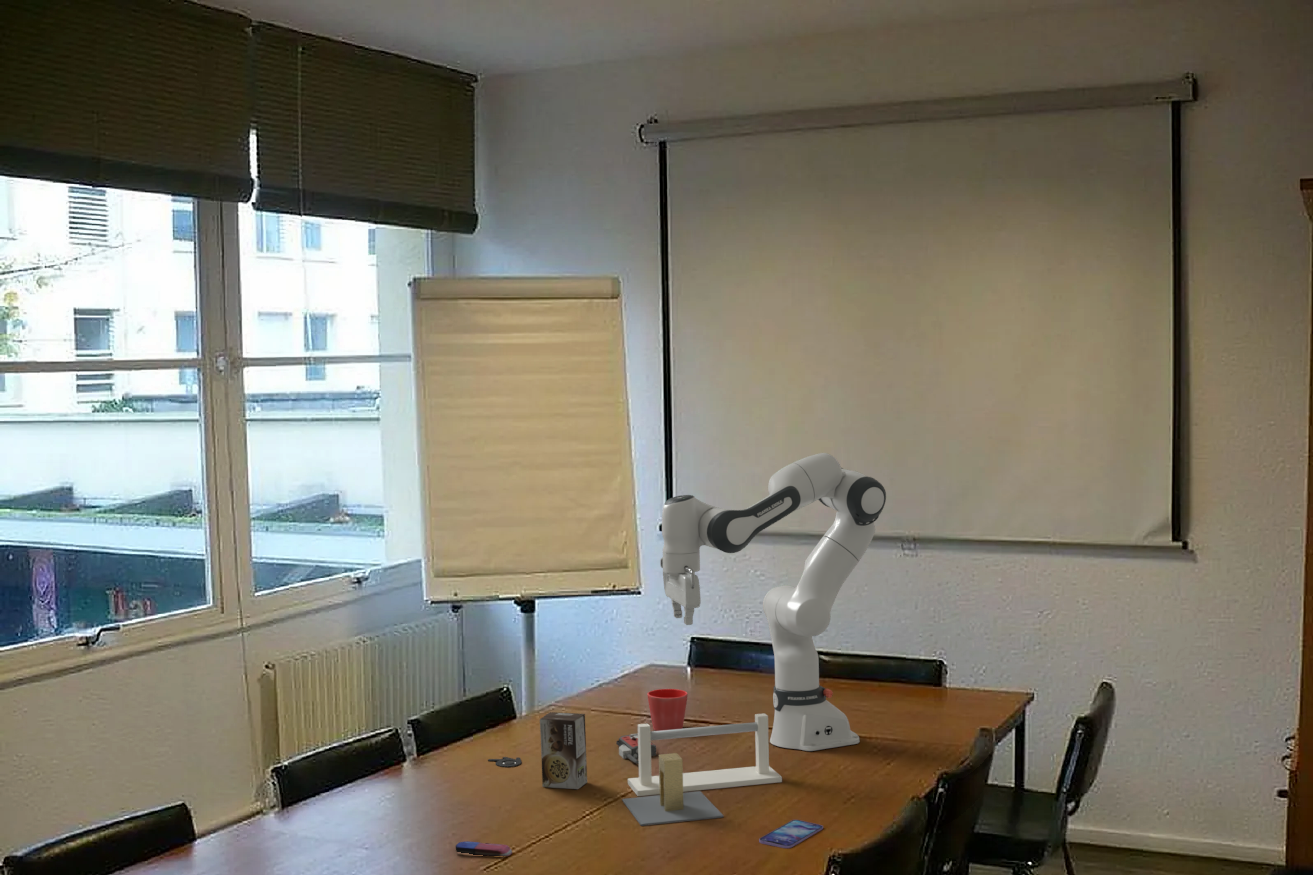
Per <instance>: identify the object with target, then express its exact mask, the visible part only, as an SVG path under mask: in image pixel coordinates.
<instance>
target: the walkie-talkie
mask: <svg viewBox="0 0 1313 875" xmlns="http://www.w3.org/2000/svg"><path fill="white" fill-rule="evenodd" d="M615 742H616V745H617V746H618V755H619V756H620V758H622V759H623V760H625V759H629V760H630V761H631V762H632V763H635V764H636V765H639V761H638V733H630V734H628V735H621V736H620V737H619V738H618V740H616V741H615ZM656 756H657V746H656V744H654V743H653V742H652V741H651V757H656Z"/></svg>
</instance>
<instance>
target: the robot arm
mask: <svg viewBox="0 0 1313 875" xmlns="http://www.w3.org/2000/svg"><path fill="white" fill-rule="evenodd" d="M767 485H768V486H767V488H768V489H767V490H768V495H766V497H764V498H762V499H760V500H758V501H757V502H755V503H754V504H751V505H750V506H748V507H747V508H743V509H738V510H737V509H736V510H735V509H725V508H722V507H721V508H720V507H716V506H713V505H710V504H708V503H706V502H703V501H701V500H700V499H697V498H696V497H695V496H694V495H691V494H683V495H677V496H674V497H670V498H669V499H667V500H666V501H665V502H664V504H663V507H662V515H661V535H662V538H663V548H662V557H661V558H660V560H659V563H660V568H661V569H662V576H663V578H662V579H663V587H664V593H665V596H666V597H667V598H669V599H671V605H672V610H673V617H674V618H675V619H682V618H683V623H684V625H686V626H692V625H693V624H694V619H693V618H694V614H695V609H696V608H697V609H698V608H700V606H701V601H702V600H701V598H702V597H701V588H700V587H701V586H700V585H701V584H700V578H699V576H698V575H696V573H697V572H699V571H701V558H700V548H701V547H702V546H705V547H709V548H713V549H717V550H719V551H721V552H723V553H727V554H735V553H739V552H740V551H742V550H744V549H745V548H746V547H747V546H748V545H749V544H750V543H751V541H752V540H753V539H754V538H755V536H757V535H758V534H759V533H761V532H762V531H764V530H765V529H767V528H768V527H771V526H772V525H774V524H775V523H777V522H779V521H780V520H782V519H784V518H786V517H788V516H789V515H790V514H792V513H793V512H795V511H798V510H800V509H802V508H805V507H807V506H809V505H810V504H812V503H815V502H817V501H819V502H820V503H821V504H822V505H824V506H826V507H827V508H831V509H832V510H834V511H836V513H835V519H834V522H833V523H832V525H831V526H830V527H829V528H828V529H827V531H826V532H825V533H824V534H823V536H822V537H821V538H820V540H819V541H818V543H817V544H816V545H815V547H814V548H813V549H812V551H811V552H810V553H809V555H808V556H807V557H806V559H805V561H804V568H803V572H802V573H801V577H800V578H799V581H798V583H797V585H796V586H793V585H788V584H787V585H785V584H784V585H778V586H774V587H772V588H770V589H769V590H768V591H767V593H766V594H765V596H764V597H763V601H762V609H763V610H762V611H763V613H764V615H765V617H766V619H767V620H766V621H767V625H768V630H769V634H770V635H769V636H770V640H771V643H772V650H773V654H774V655H773V656H774V657H773V658H774V686H773V694H772V698H773V699H772V700H773V701H772V702H773V703H772V704H773V708H774V715H773V716H774V717H773V724H772V731H771V735H770V739H769V743H770V744H772V745H773V746H777V747H780V748H785V749H794V750H800V751H801V750H802V751H804V752H805V751H806V752H813V751H820V750H825V749H826V750H827V749H832V748H838V747H845V746H850V745H851V746H852V745H856V744H857V745H858V744H859V743H860V736H859V735H858V734H857V733H856V732H854V731H852V730H851V726H850V722H849V721H850V720H849V719H848V717H847V715H846V714H845V713H844V712H843V711H841V710H840V709H839V708H838V707H836V705H834V704H833V703H831V702H830V701H829V700H827V698H829V699H830V698H832V696H833V694H834V692H833V690H831V689H830V688H826V687H823V686H822V685H820V668H819V667H820V666H819V663H820V661H819V654H818V653H819V652H817V649H816V646H815V643H814V639H813V637H816V636H819V635H821V634H823V633H824V632H825V631H826V630H827V628H828V627H829V625H830V622H831V612H832V611H831V610H832V608H833V606H834V603H835V601H836V598H837V597H838V593H839V591H840V590H841V588H842V586H843V585H844V583H845V582H846V580H847V579H848V578H849V576H850V575H851V573H852V572H853V570H854V569H855V568H856V566H857V565H858V564H859V562H860V560H862V558H863V556H864V555H865V553H867V552H866V551H867V550H868V548H869V546H870V545H871V542H872V540H873V538H874V536H875V533H876V525H875V521H877V520H878V518H879V517H880V515H881V513H882V512H883V510H884V508H885V505H886V501H887V492H886V489H885V487H884V486H883V485H882V483H881V482H879V480H877V479H875V478H874V477H872V476H868V475H866V474H864V473H862V472H859V471H856V470H851V469H846V468H843V467H841V464H840V462H839V461H838V459H837V458H836V457H835V456H833V455H832V454H829V453H828V452H819V453H816V454H812V455H808V456H806V457H802V458H801V459H797V460H795V461H793V462H792V463H789V464H787V465H785V466H784V467H782V468H780V469H779V470H777V471H776V472H774V473H773V474H772V475H771V476H770V477H769V481H768V484H767ZM682 607H683V610H684V616H683V610H682Z"/></svg>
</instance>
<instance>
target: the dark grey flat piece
mask: <svg viewBox="0 0 1313 875" xmlns="http://www.w3.org/2000/svg"><path fill="white" fill-rule="evenodd" d="M487 762H489V763H491V762H495V766H497V767H499V768H515V767H518V766H521V765H522V759H521V757H515V758H513V757H508V756H502V758H489V759H487Z"/></svg>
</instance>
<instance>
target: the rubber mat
mask: <svg viewBox="0 0 1313 875" xmlns="http://www.w3.org/2000/svg"><path fill="white" fill-rule="evenodd" d="M621 801H622V802H623V804H624V805H625V807H627V809H628V811H629V812H630V813H631V815H632V816H633V817H634V819H635V820H636V821H637V823H638V824H639V826H641V827H642V826H643V827H644V826H654V825H661V824H662V825H663V824H671V823H672V824H673V823H682V822H690V821H691V822H692V821H701V820H711V819H720V818H724V814H723V813H722V812H721V811H720V809H718V808H717V807H716V806H715V805H714V804H713V803H712V801H710V800H709V799H708V797H706V795H705V794H704V792H702V790H696V791H686V792H683V810H673V811H665V810H664V806H661V805H660V794H656V795H646V796H637V797H628V798H622V799H621Z"/></svg>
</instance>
